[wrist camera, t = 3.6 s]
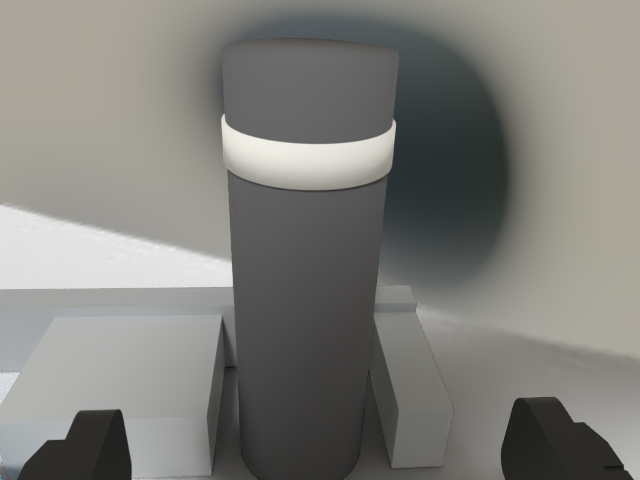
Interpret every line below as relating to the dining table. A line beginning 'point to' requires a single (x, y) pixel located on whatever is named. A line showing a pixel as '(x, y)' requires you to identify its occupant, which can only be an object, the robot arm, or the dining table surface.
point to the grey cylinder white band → (305, 242)
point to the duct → (184, 373)
